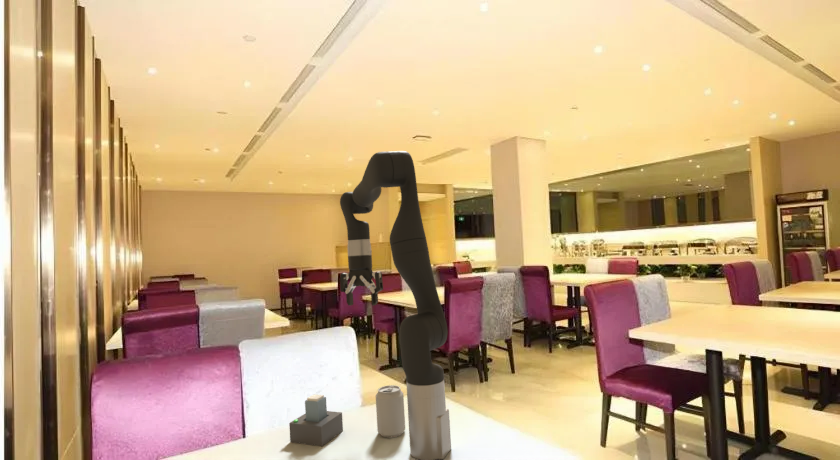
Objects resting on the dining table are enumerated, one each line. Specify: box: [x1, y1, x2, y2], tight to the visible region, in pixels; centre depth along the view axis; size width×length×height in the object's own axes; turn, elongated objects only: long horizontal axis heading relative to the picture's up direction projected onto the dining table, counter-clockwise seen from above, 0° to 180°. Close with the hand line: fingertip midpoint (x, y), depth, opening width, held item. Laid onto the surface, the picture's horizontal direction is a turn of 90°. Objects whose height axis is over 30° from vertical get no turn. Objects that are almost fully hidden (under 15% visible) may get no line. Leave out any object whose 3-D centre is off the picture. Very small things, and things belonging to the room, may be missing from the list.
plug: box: [304, 394, 328, 422], centre depth 123 cm, size 4×4×10 cm
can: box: [375, 384, 406, 439], centre depth 123 cm, size 8×8×12 cm
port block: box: [289, 410, 344, 447], centre depth 123 cm, size 10×10×5 cm
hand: (362, 305), depth 144 cm, fingers open, 8 cm apart
